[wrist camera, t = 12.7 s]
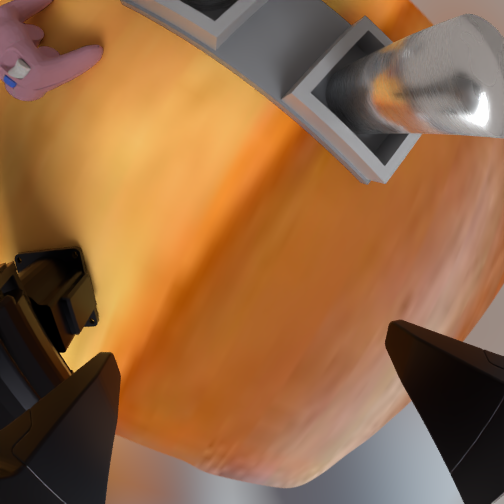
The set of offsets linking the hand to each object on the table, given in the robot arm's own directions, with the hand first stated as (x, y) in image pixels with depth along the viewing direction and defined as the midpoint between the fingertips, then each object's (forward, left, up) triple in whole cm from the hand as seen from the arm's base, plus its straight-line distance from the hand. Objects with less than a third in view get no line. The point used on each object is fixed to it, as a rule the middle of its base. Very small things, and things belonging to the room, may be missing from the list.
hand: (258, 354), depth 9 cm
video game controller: (-13, +16, -13) cm, 24 cm away
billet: (+9, +9, -12) cm, 18 cm away
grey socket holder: (+4, +14, -13) cm, 19 cm away
